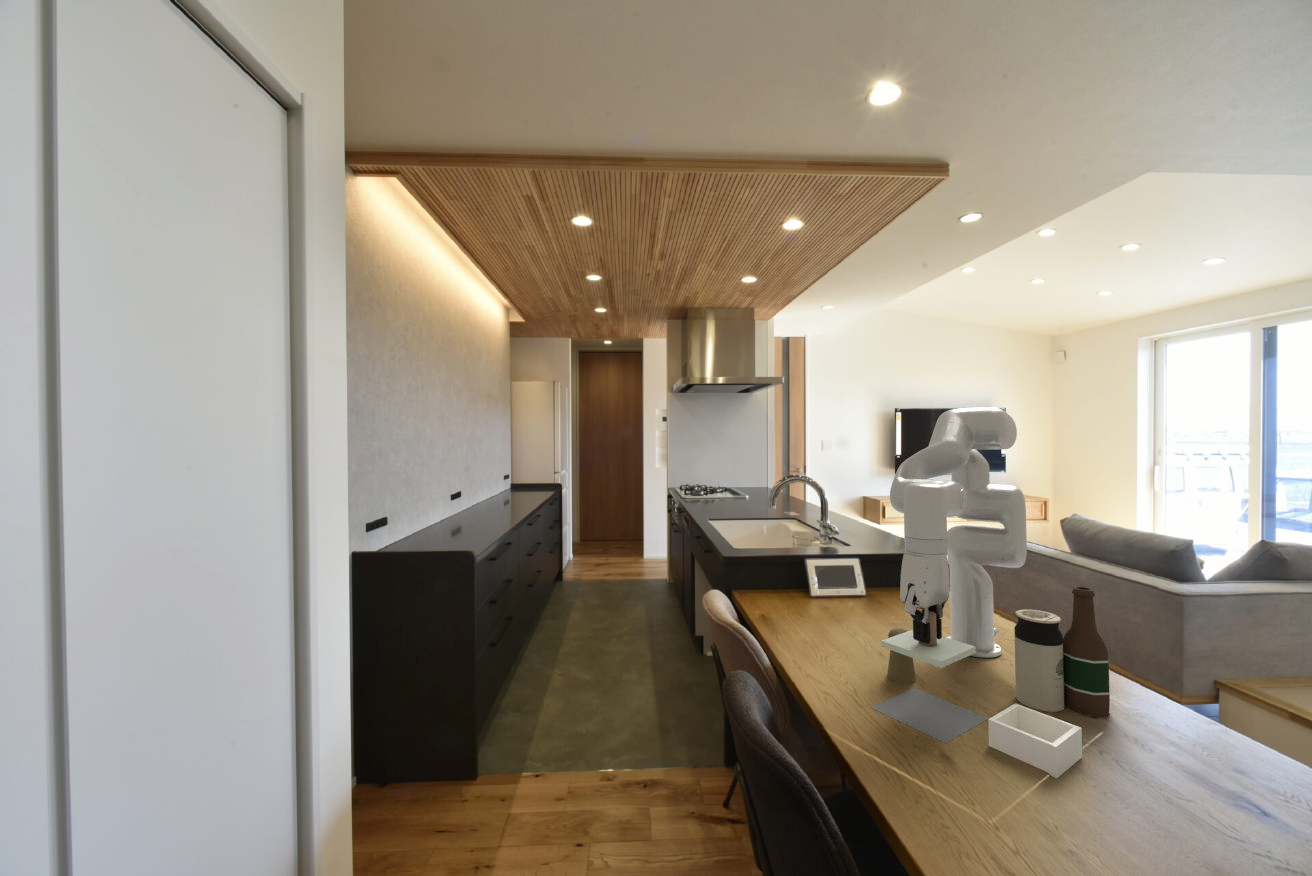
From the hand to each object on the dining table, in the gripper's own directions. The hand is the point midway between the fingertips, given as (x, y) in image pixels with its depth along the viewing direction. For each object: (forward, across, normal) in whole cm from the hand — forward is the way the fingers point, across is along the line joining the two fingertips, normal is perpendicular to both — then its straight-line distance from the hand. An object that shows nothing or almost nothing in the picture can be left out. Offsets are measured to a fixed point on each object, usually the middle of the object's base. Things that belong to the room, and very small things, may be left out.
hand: (927, 638), depth 103 cm
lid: (+2, 0, 0) cm, 2 cm away
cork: (+15, -10, -12) cm, 22 cm away
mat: (+15, 0, 0) cm, 15 cm away
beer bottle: (+15, -28, +16) cm, 36 cm away
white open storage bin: (+15, -3, +17) cm, 23 cm away
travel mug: (+15, -23, +10) cm, 29 cm away
